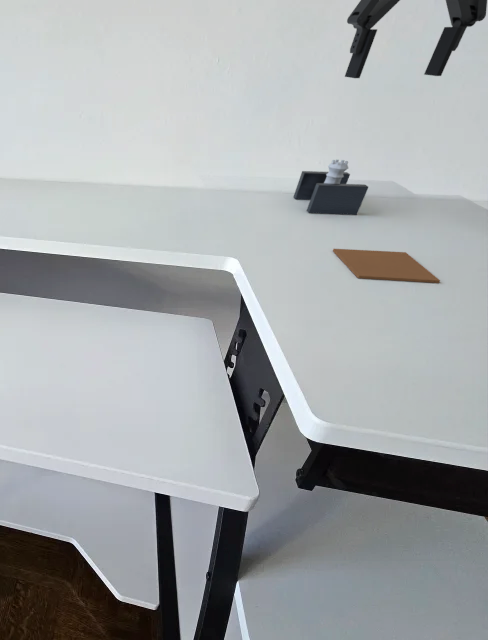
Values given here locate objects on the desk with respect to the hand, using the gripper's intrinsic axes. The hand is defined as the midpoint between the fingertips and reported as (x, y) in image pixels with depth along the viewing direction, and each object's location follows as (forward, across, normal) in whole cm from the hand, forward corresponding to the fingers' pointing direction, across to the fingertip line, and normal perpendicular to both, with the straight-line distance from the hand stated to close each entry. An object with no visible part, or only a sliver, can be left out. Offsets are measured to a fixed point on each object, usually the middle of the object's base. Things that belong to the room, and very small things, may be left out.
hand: (392, 76), depth 81 cm
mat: (+21, +11, +27) cm, 36 cm away
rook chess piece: (+21, +3, 0) cm, 22 cm away
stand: (+21, +3, 0) cm, 21 cm away
